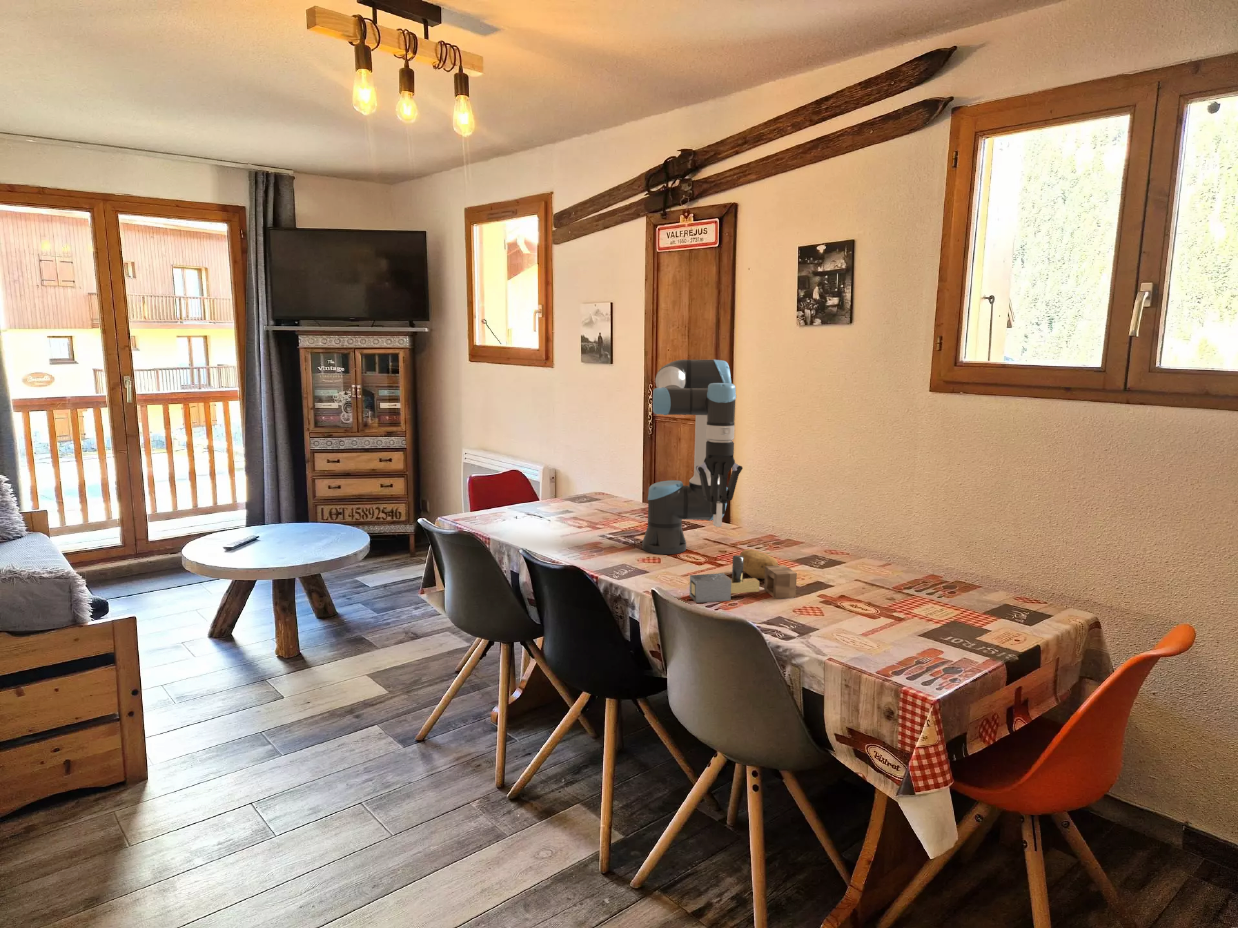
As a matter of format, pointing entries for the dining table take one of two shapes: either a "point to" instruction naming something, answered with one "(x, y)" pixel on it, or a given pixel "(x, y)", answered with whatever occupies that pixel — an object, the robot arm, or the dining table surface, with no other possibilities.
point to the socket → (780, 581)
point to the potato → (756, 563)
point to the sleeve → (711, 588)
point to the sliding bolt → (738, 579)
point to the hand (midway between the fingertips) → (717, 525)
